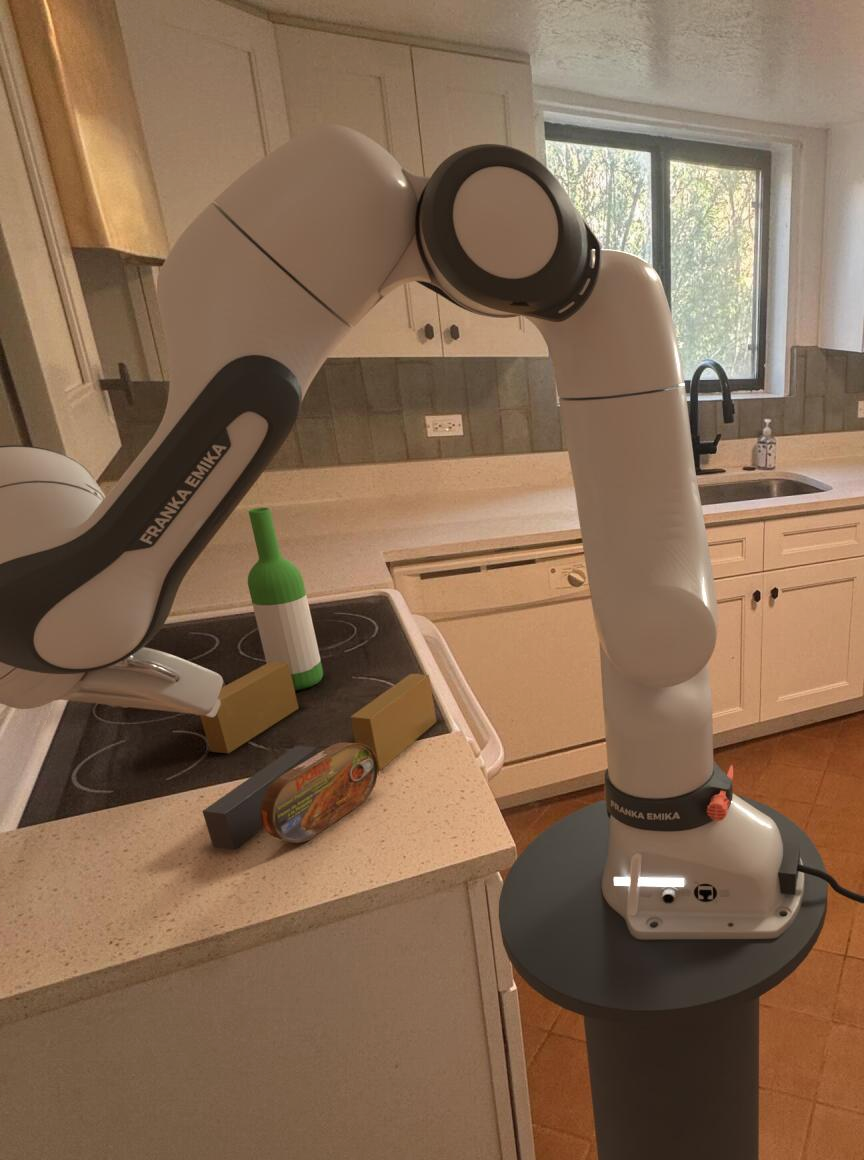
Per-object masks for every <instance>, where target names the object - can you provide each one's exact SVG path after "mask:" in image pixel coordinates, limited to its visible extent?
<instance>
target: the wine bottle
mask: <svg viewBox="0 0 864 1160" xmlns="http://www.w3.org/2000/svg"><path fill="white" fill-rule="evenodd" d="M248 516H249V520H250V524H251V528H252V533H253V537H254V543H255V547H256V551H257V555H258V560H257V561H256V563H254V565H253V566H252V567H251V569H250V570H249V572H248V575H247V586H248V591H249V595H250V599H251V604H252V607H253V608H252V609H253V612H254V617H255V621H256V626H257V629H258V634H259V637H260V642H261V645H262V650H263V655H264V659H265V662H266V663H265V664H267V663H269V662H271V661H275V662H286V663H288V664H289V669H290V673H291V677H292V682H293V686H294V690H295V692H297V691H302V690H305V689H309V688H312V687H313V686H315V685H318V683H320V682H321V681H322V680H323V676H324V669H323V665H322V659H321V655H320V650H319V646H318V641H317V637H316V632H315V628H314V624H313V619H312V614H311V610H310V609H311V608H310V606H309V600H308V596H307V592H306V588H305V583H304V579H303V576H302V573H301V571H300V569H299V568H298V566H296V564H294V563H293V562H292V561H291V560H288V559H286V558H284V557H283V556H282V554H281V551H280V546H279V542H278V537H277V534H276V529H275V525H274V521H273V516H272V512H271V509H270V508H268V507H255V508H252V509H250V510H249V511H248Z"/></svg>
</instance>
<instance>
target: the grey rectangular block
mask: <svg viewBox="0 0 864 1160" xmlns="http://www.w3.org/2000/svg"><path fill="white" fill-rule="evenodd" d="M316 754H318V751H317V747H311V746H304V745H295V746H293V747H292V748H290V749H289V750H288V751H286V752H285V753H283V754H282V755H281V756H279V757H277V758H276V759H274V761H272V762H271V763H269V764H267V765H266V766H265V767H263V768H262V769H261V770H259V771H258V772H256V773H255V774H253V775H251V776H250V777H249V778H248V779H246V780H244V781H243V782H242V783H240V784H239V785H238V786H236V787H235V788H233V789H231V790H230V791H228V793H226V794H225V795H223V796H222V797H219V799H218V800H216V801H214V802H213V803H211V804H210V805H209V806H208V807H206V808H205V809H203V810H202V814H203V815H202V816H203V818H204V821H205V824H206V829H207V831H208V836H209V839H210V841H211V845H212V847H213V848H219V849H224V850H225V849H227V850H233V851H234V850H237V849H238V848H240V847H241V845H242V844H245V842H247V841H248V840H249V839H251V837H253V836H254V835H256V834H257V833H258V832H260V831H261V830H262V829H263V828H264V826H263V824H262V820H261V814H260V806H261V802H262V799H263V796H264V794H265V792H266V791H267V789H268V788H269V786H270V785H271V784H272V783H273V782H274V781H275V780H276V779H277V778H278V777H279V776H281V775H283V774H284V773H286V772H288V771H289V770H291V769H293V768H294V767H296V766H298V765H299V764H301V763H303V762H304V761H306V760H308V759H309V758H311V757H313V756H314V755H316Z"/></svg>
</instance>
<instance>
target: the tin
mask: <svg viewBox="0 0 864 1160" xmlns="http://www.w3.org/2000/svg"><path fill="white" fill-rule="evenodd" d="M378 773H379V770H378V763H377V759H376V756H375V754H374V752H373V751H372V750H371V749H370V748H369V747H368V746H366V745H364V744H360V743H355V742H348V741H346V742H343V741H342V742H336V743H333V744H332V745H329V746H328V747H326V748H324V749H323V750H321V751H319V752H317V754H316V755H314V756H313V757H311V758H309V759H308V760H306V761H304V762H303V763H301V764H299V765H298V766H296V767H294V768H293V769H291V770H289V771H288V772H286V773H284V774H283V775H281V776H279V777H278V778H277V779H276V780H275V781H274V782H273V783H272V784H271V785H270V786H269V788H268V789H267V791H266V792H265V794H264V796H263V799H262V802H261V806H260V814H261V820H262V824H263V826H264V827H263V828H264V830H265V831H266V833H267V834H269V836H272V837H273V838H275V839H277V840H282V841H285V842H287V843H289V844H302V843H305V842H307V841H310V840H312V839H314V838H315V837H316V836H318V835H319V834H321V833H322V832H323V831H325V830H326V829H328V828H329V827H331V826H332V825H334V824H335V823H336V822H337V821H339V820H341V819H342V818H343V817H344V816H346V815H348V814H349V813H351V812H352V811H354V809H356V808H357V807H359V806H361V804H363V803H365V801H366V800H367V799H368V798H369V796H370V795H371V794H372V792H373V790H374V789H375V786H376V783H377V779H378V775H379V774H378Z"/></svg>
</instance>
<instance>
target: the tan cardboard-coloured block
mask: <svg viewBox="0 0 864 1160" xmlns="http://www.w3.org/2000/svg"><path fill="white" fill-rule="evenodd" d="M218 699H219V700H220V702H221V704H220V707H219V709H218V712H217V714H216V716H214V717H203V716H199V717H200V721H201V724H202V727H203V731H204V734H205V735H204V736H205V738H206V741H207V745H208V748H209V751H210V752H212V753H220V754H230V753H232V752H233V751H235V750H236V749H238V748H239V747H241V746H243V745H244V744H245V743H247V742H249V741H251V740H252V739H254V738H255V737H256V736H258V735H260V734H261V733H263V732H264V731H266V730H268V729H269V728H270V727H272V726H274V725H275V724H277V723H278V722H280V721H281V720H283V719H284V718H286V717H288V716H289V715H291V714H293V713H294V712H295V711H297V710H298V709H299V703H298V700H297V695H296V691H295V690H294V686H293V682H292V677H291V673H290V669H289V664H288V663H286V662H275V661H271V662H269V663H265V664H263V665H262V666H260V667H258V668H256V669H254V670H252V671H250V672H248V673H247V674H245V675H243V676H242V677H239V678H237V679H235V680H234V681H232V682H230V683H228V684H226V685H225V686H222V688H221V691H220V694H219V696H218Z"/></svg>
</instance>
